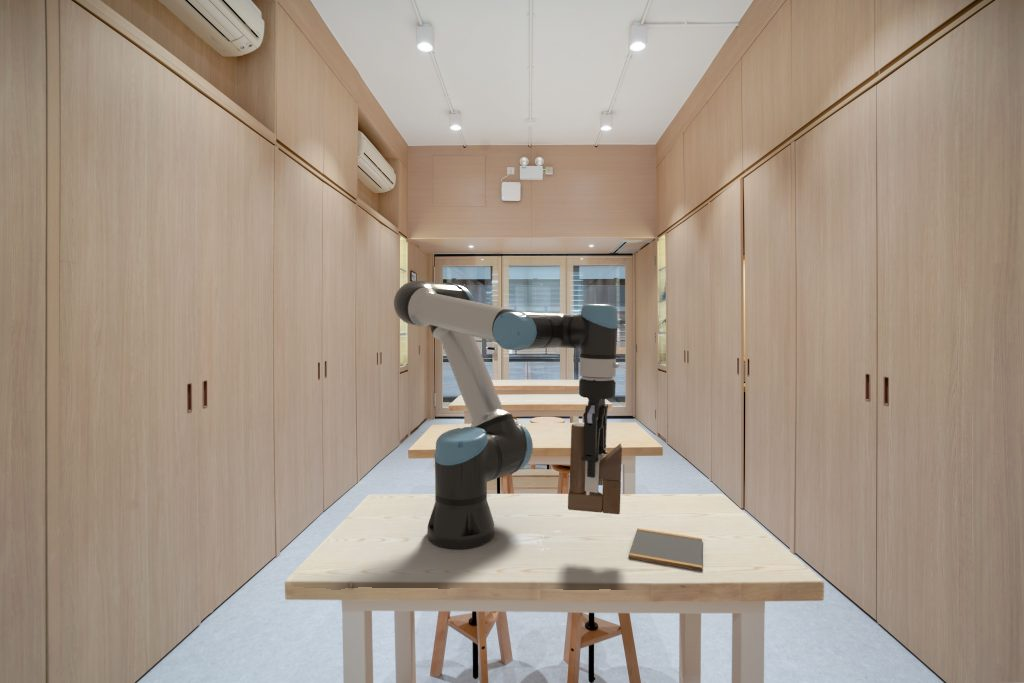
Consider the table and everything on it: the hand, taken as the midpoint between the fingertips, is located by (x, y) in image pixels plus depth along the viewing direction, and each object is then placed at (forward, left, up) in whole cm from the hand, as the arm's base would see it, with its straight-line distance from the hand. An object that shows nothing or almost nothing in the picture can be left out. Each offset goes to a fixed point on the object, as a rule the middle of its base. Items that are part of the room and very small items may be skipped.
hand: (594, 487), depth 103 cm
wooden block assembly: (0, 0, -5) cm, 5 cm away
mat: (+15, +6, -13) cm, 20 cm away
